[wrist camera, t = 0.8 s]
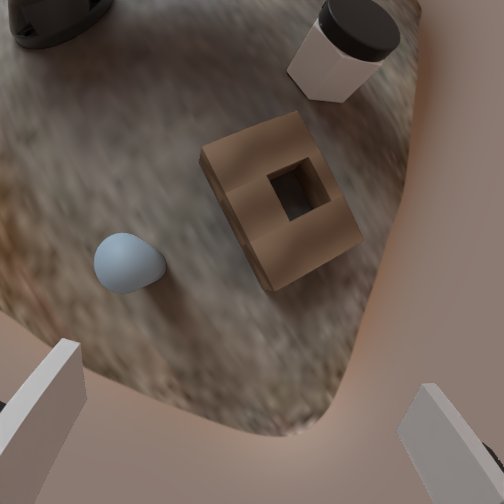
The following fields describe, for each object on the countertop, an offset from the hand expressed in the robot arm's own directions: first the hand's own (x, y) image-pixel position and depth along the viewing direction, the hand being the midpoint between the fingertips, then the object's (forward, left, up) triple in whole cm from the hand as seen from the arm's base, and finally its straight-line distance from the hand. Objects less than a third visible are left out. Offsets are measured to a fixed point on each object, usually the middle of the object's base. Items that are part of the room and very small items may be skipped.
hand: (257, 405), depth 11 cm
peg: (-7, -3, -21) cm, 22 cm away
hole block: (-7, +11, -21) cm, 24 cm away
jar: (-19, +24, -21) cm, 37 cm away
